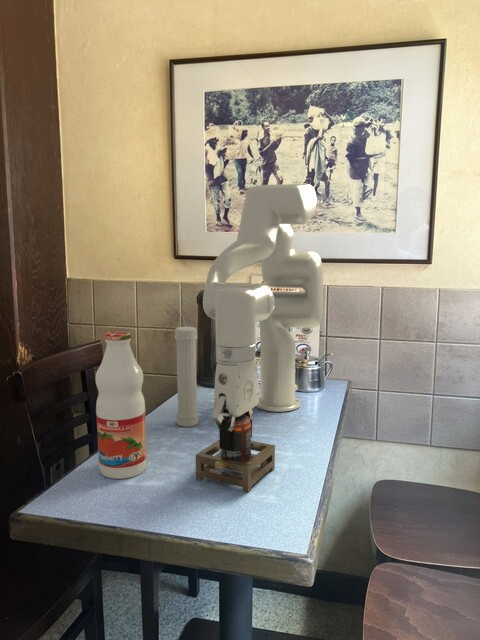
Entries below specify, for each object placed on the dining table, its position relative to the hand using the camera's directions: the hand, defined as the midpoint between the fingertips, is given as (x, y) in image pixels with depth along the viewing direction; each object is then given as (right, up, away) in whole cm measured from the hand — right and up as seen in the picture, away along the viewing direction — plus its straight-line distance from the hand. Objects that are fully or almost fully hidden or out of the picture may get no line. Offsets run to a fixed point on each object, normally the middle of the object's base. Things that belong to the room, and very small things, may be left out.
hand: (236, 442), depth 103 cm
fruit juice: (-23, -6, +3) cm, 24 cm away
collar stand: (0, -6, +1) cm, 7 cm away
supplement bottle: (0, -4, +1) cm, 4 cm away
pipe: (-13, -2, +29) cm, 32 cm away
